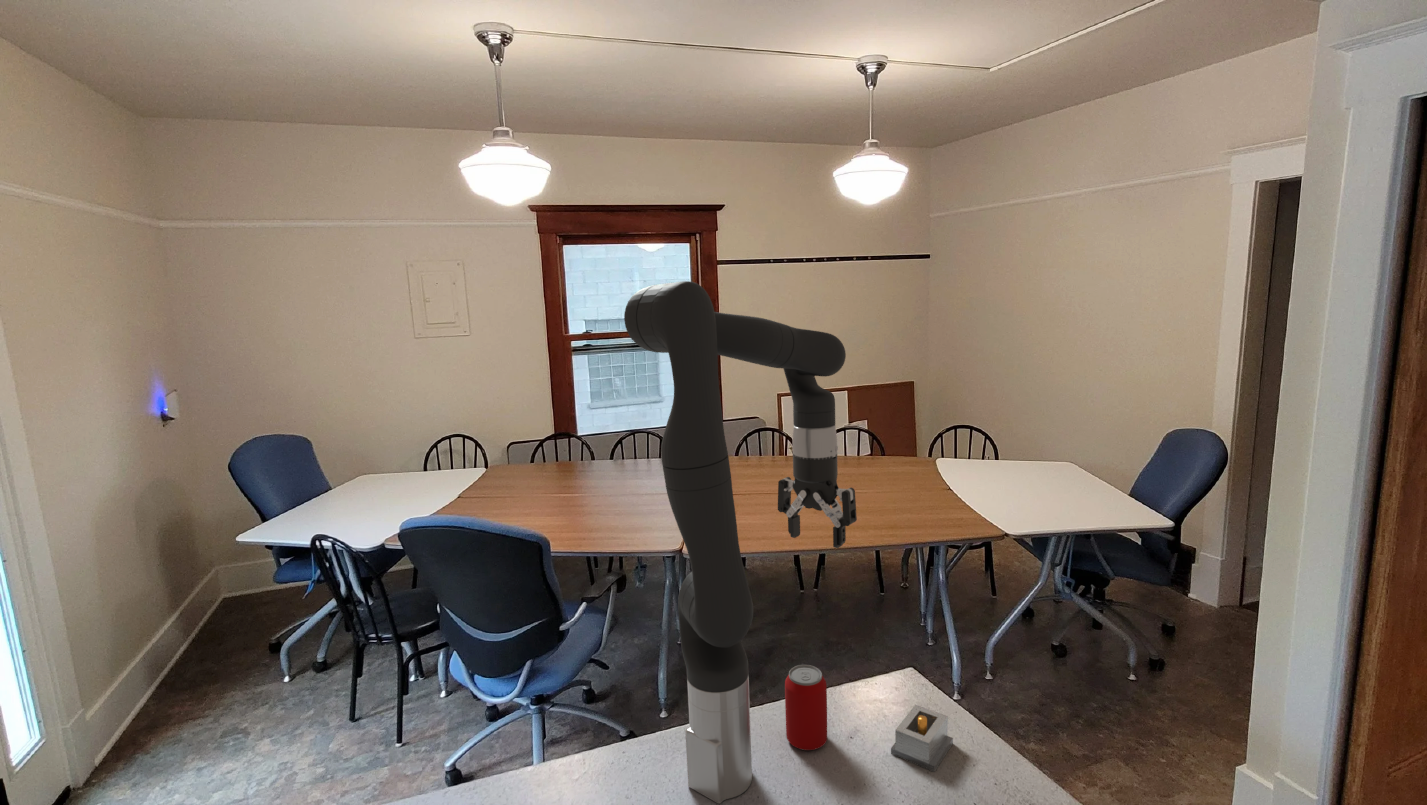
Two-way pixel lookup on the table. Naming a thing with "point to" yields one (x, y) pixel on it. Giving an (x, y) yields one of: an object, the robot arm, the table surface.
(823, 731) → the beverage can
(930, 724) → the silver frame
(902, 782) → the table surface
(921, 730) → the grey peg base
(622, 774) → the table surface
